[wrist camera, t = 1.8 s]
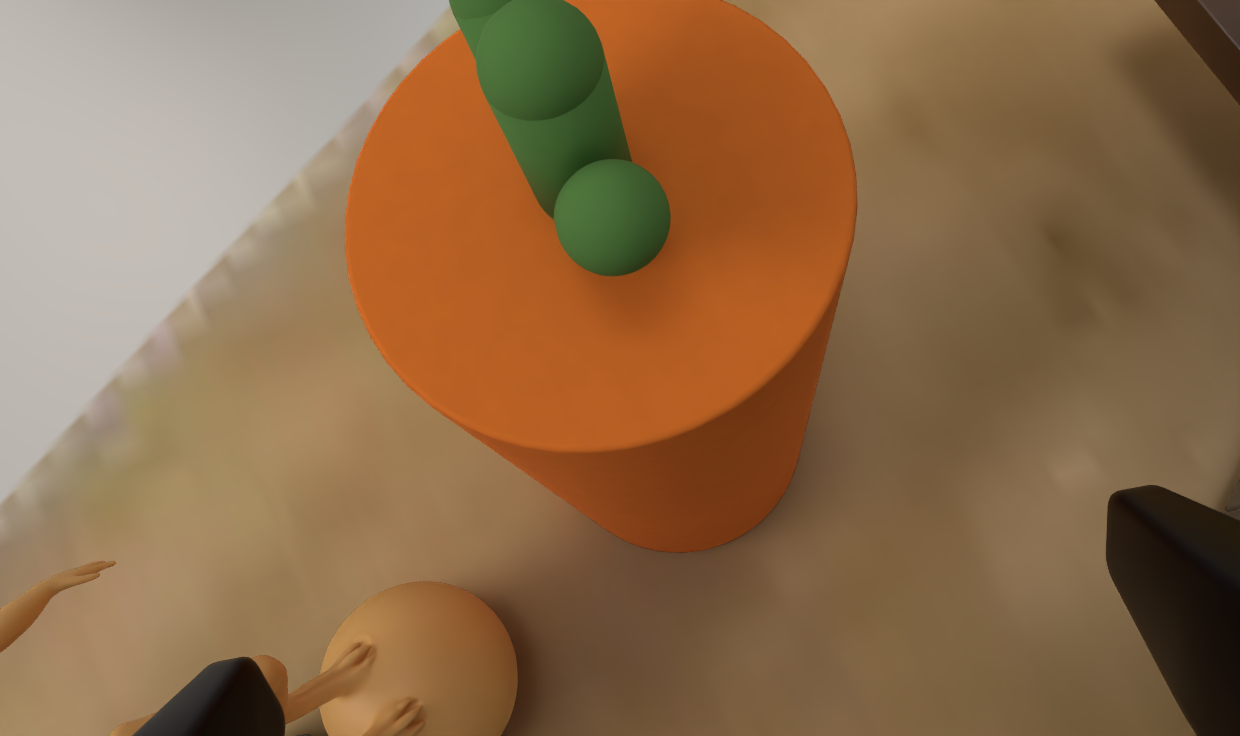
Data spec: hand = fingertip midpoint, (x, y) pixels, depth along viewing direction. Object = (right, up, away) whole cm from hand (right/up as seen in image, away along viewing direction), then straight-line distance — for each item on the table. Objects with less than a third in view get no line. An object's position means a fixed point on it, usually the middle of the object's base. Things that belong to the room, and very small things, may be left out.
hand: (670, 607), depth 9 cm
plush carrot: (+1, +1, +12) cm, 12 cm away
